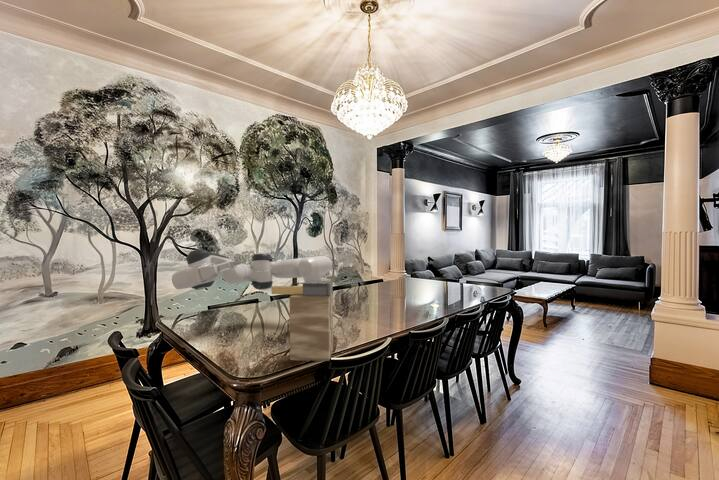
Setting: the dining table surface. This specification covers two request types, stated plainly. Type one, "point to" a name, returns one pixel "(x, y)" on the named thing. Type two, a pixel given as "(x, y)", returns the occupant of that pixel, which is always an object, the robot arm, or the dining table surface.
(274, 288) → the bar
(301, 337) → the pedestal
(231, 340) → the dining table surface
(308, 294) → the socket
